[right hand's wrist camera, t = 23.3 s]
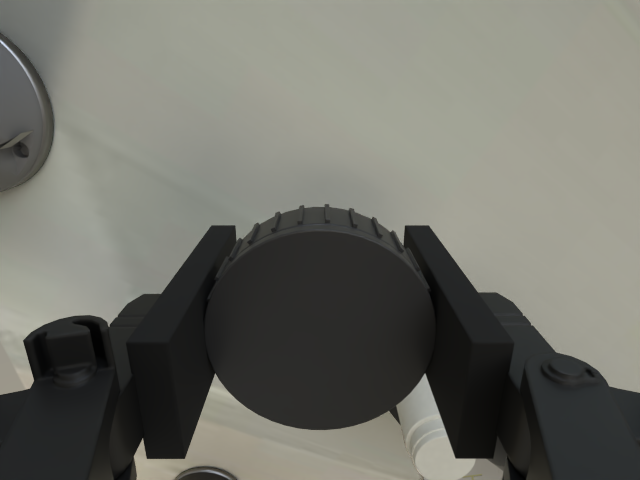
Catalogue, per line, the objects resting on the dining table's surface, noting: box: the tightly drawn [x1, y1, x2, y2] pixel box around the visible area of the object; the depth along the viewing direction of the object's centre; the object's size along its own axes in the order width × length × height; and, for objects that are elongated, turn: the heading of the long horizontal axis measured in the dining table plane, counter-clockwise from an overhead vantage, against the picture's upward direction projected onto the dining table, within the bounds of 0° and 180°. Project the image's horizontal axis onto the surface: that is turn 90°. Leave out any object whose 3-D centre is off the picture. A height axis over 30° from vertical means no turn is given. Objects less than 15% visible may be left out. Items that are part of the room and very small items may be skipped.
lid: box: [204, 204, 436, 430], centre depth 11 cm, size 6×6×2 cm
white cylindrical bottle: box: [396, 374, 476, 480], centre depth 37 cm, size 5×5×19 cm
